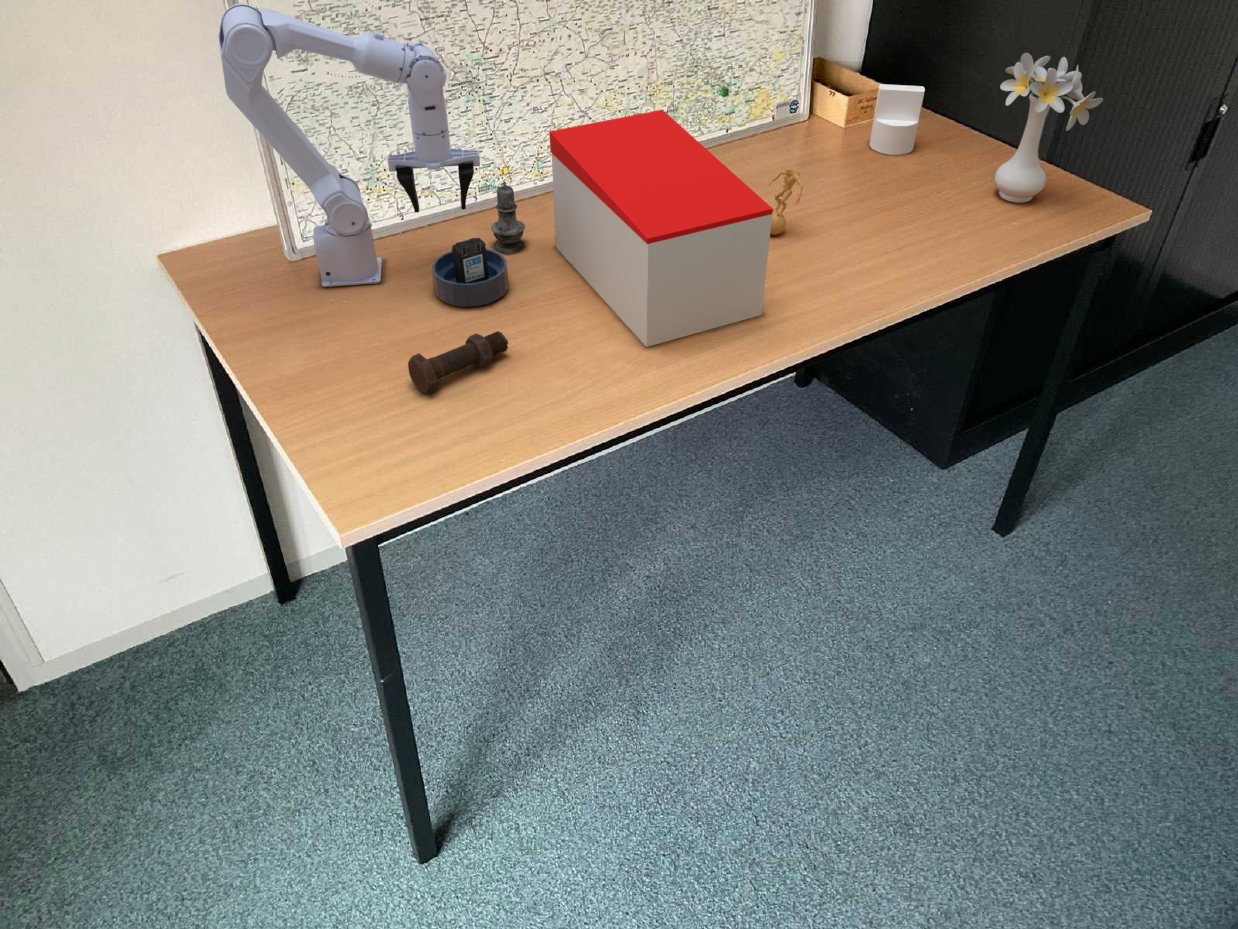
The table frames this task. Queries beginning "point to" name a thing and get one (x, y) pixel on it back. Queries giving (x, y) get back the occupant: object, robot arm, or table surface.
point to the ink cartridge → (470, 261)
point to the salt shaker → (507, 222)
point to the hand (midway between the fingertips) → (440, 208)
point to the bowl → (470, 291)
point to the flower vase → (1038, 121)
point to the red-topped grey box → (658, 226)
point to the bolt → (455, 360)
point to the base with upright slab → (896, 118)
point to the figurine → (784, 198)
